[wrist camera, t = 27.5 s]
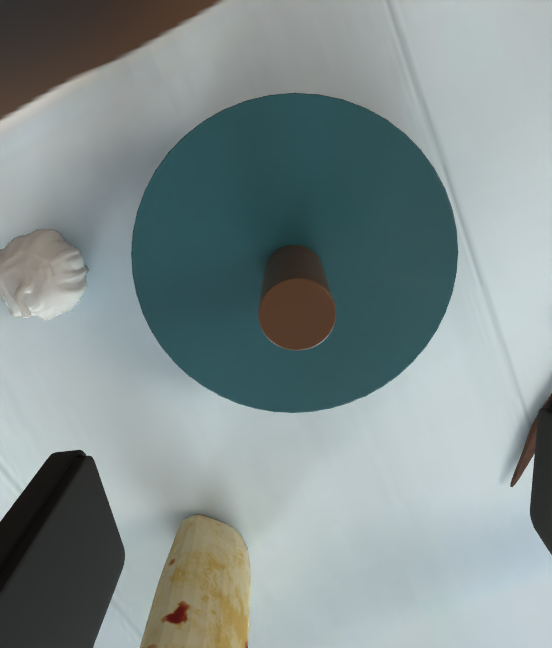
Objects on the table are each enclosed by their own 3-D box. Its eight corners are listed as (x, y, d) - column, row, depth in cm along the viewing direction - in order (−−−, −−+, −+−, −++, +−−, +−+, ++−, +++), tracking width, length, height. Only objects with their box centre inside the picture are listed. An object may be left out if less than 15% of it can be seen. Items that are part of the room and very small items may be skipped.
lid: (451, 68, 22) (530, 33, 15) (451, 386, 28) (507, 466, 21) (99, 124, 23) (18, 115, 16) (175, 417, 30) (141, 504, 22)
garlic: (86, 320, 32) (51, 351, 28) (10, 290, 32) (-39, 317, 27) (109, 243, 30) (76, 262, 26) (29, 209, 30) (-21, 222, 25)
